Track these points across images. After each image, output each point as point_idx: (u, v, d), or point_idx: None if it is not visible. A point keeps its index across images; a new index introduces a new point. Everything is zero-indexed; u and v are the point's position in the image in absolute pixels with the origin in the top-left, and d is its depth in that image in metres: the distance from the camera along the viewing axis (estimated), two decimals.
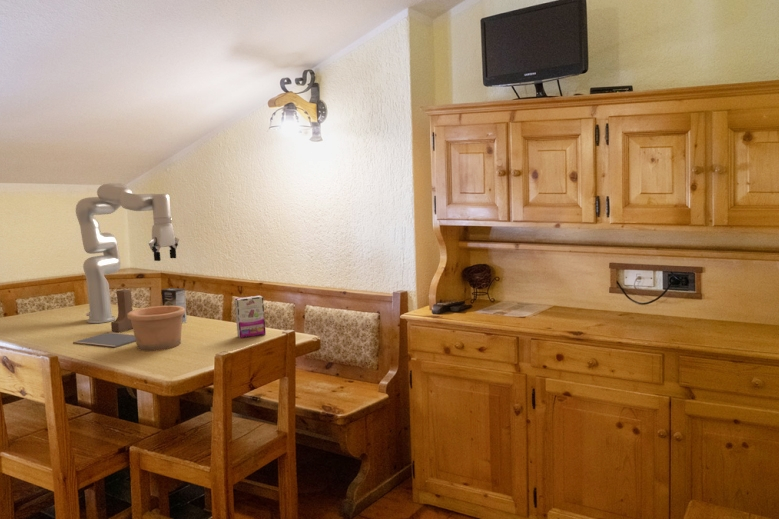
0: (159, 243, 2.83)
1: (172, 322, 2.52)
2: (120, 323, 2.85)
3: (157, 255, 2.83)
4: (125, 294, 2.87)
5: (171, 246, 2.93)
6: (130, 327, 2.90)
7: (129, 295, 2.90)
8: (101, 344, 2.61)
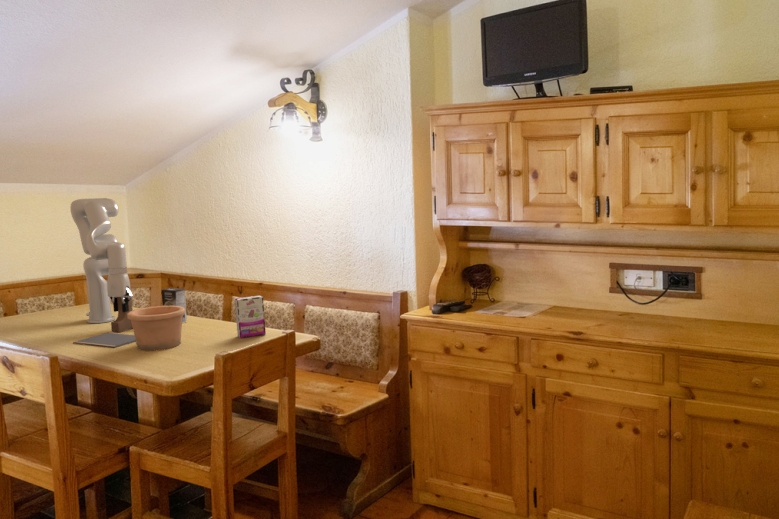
0: (130, 291, 2.87)
1: (172, 322, 2.52)
2: (120, 323, 2.85)
3: (127, 306, 2.87)
4: None
5: None
6: (130, 327, 2.90)
7: None
8: (101, 344, 2.61)
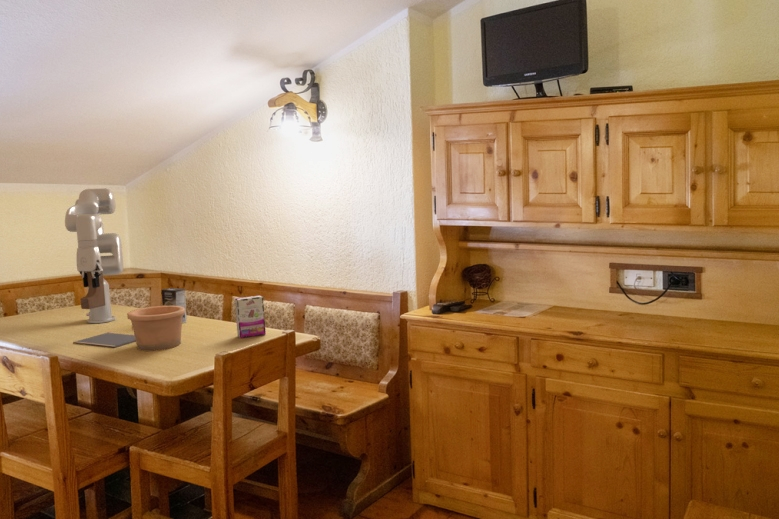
0: (101, 266, 2.70)
1: (172, 322, 2.52)
2: (90, 299, 2.68)
3: None
4: None
5: None
6: (101, 304, 2.74)
7: None
8: (101, 344, 2.61)
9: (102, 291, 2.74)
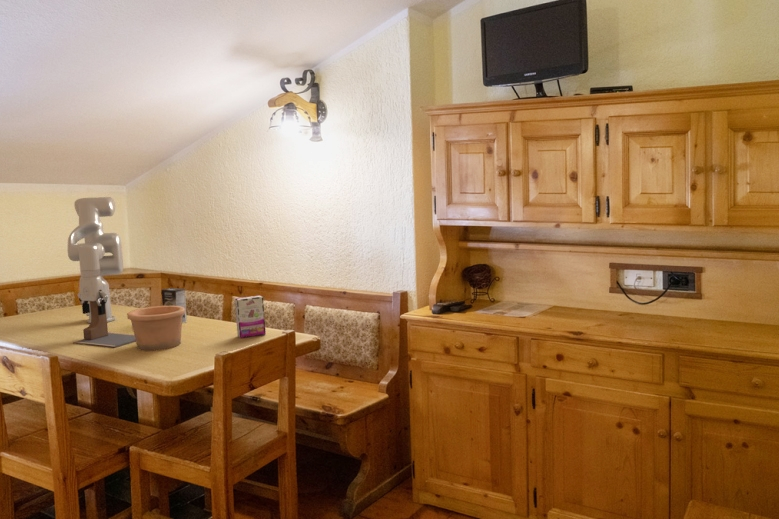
0: None
1: (172, 322, 2.52)
2: (93, 330, 2.70)
3: None
4: None
5: None
6: (104, 334, 2.75)
7: None
8: (101, 344, 2.61)
9: (105, 321, 2.76)
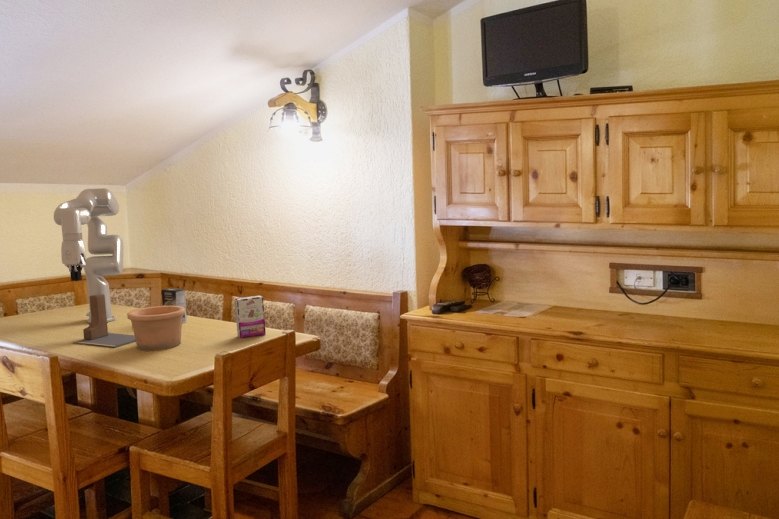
0: (85, 259, 2.74)
1: (172, 322, 2.52)
2: (93, 330, 2.70)
3: None
4: (98, 299, 2.72)
5: None
6: (104, 334, 2.75)
7: (103, 300, 2.74)
8: (101, 344, 2.61)
9: (105, 321, 2.76)
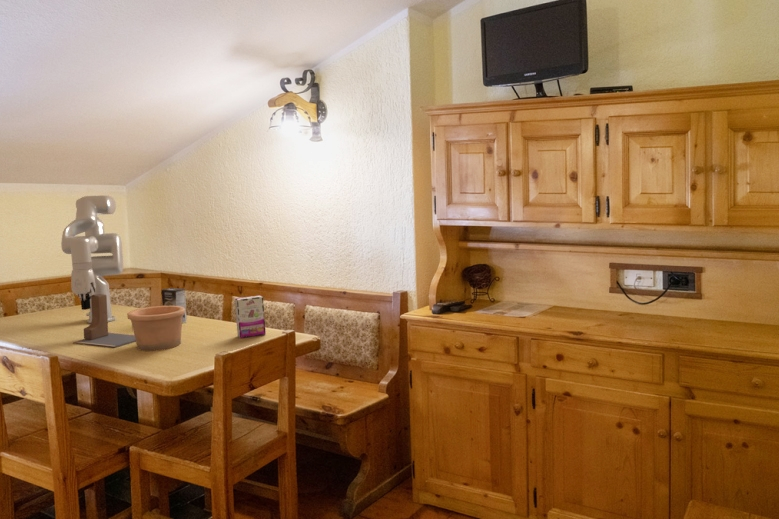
0: (95, 288, 2.73)
1: (172, 322, 2.52)
2: (93, 330, 2.70)
3: None
4: (100, 299, 2.72)
5: None
6: (104, 334, 2.75)
7: (104, 300, 2.74)
8: (101, 344, 2.61)
9: (105, 321, 2.75)
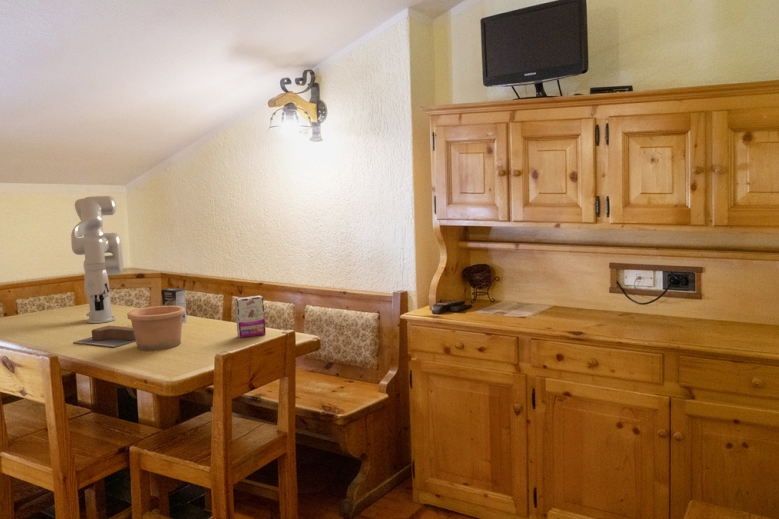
0: None
1: (172, 322, 2.52)
2: None
3: (102, 304, 2.71)
4: None
5: None
6: None
7: None
8: (101, 344, 2.61)
9: None
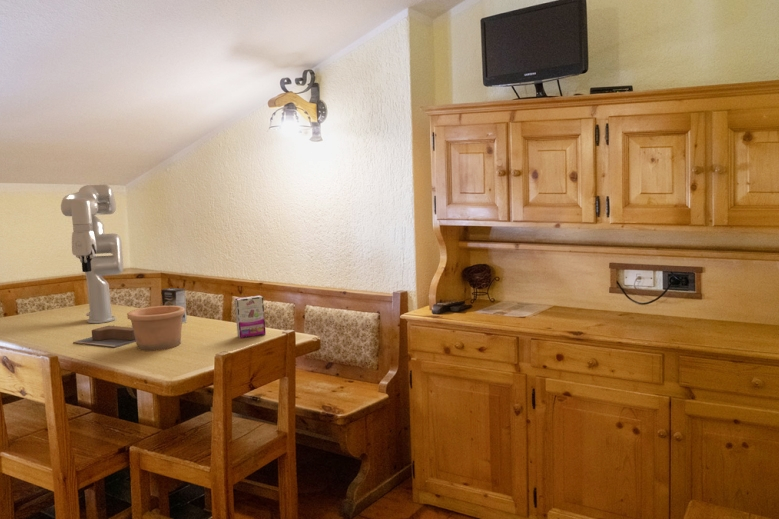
0: (96, 250, 2.70)
1: (172, 322, 2.52)
2: None
3: None
4: None
5: None
6: None
7: None
8: (101, 344, 2.61)
9: None
